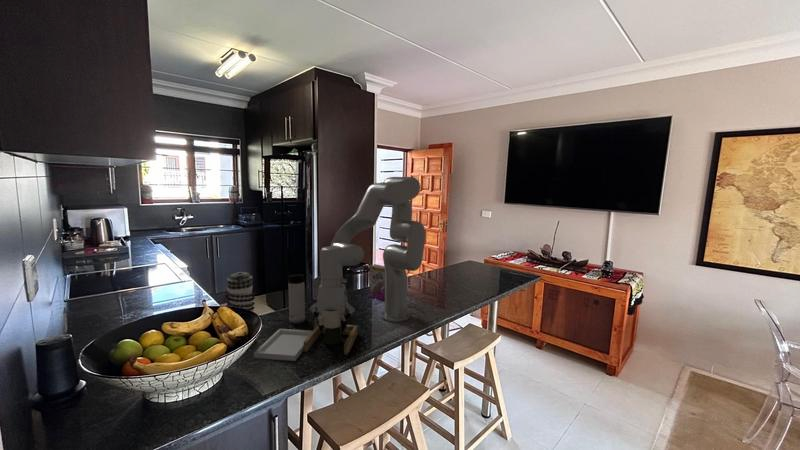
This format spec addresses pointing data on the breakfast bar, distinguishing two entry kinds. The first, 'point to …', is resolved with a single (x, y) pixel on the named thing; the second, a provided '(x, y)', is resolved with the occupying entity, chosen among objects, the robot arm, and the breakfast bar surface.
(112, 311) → the breakfast bar surface
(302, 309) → the travel mug
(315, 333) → the bay
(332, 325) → the character mug
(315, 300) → the coffee box
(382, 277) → the candy bar box
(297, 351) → the tray
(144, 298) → the breakfast bar surface
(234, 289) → the decorative candle
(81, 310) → the breakfast bar surface
